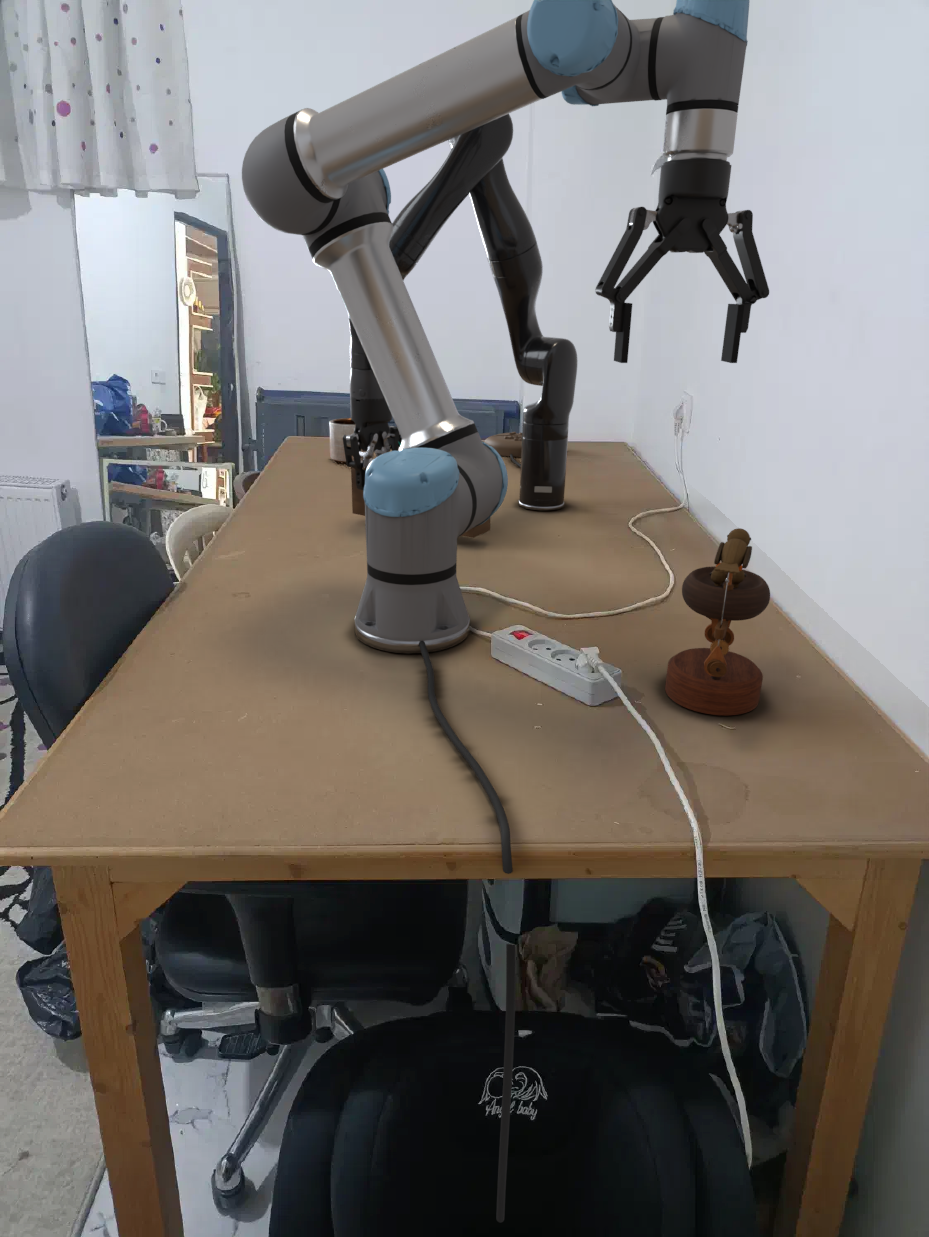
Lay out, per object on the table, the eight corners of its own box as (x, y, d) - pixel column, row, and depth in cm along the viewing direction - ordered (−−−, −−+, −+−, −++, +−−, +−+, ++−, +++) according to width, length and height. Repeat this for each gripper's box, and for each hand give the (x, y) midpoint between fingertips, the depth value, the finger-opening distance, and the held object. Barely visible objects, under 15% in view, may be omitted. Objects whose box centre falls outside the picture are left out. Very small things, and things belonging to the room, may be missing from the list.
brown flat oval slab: (489, 466, 209) (490, 449, 208) (482, 444, 235) (482, 429, 234) (574, 466, 210) (575, 449, 209) (557, 445, 236) (558, 430, 234)
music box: (777, 726, 90) (790, 547, 83) (671, 726, 92) (676, 550, 84) (748, 664, 104) (758, 507, 97) (657, 666, 106) (660, 510, 98)
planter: (327, 456, 217) (325, 418, 214) (369, 454, 220) (368, 417, 217) (334, 465, 208) (332, 425, 204) (377, 463, 211) (376, 424, 207)
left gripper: (785, 168, 98) (758, 359, 106) (576, 160, 94) (565, 358, 102) (820, 160, 91) (788, 365, 99) (597, 151, 87) (583, 365, 95)
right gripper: (379, 388, 160) (381, 476, 166) (328, 396, 148) (332, 490, 155) (411, 392, 156) (411, 482, 162) (361, 400, 145) (364, 496, 151)
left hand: (675, 362), depth 101 cm, fingers open, 13 cm apart
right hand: (373, 486), depth 158 cm, fingers closed on bar, 5 cm apart
